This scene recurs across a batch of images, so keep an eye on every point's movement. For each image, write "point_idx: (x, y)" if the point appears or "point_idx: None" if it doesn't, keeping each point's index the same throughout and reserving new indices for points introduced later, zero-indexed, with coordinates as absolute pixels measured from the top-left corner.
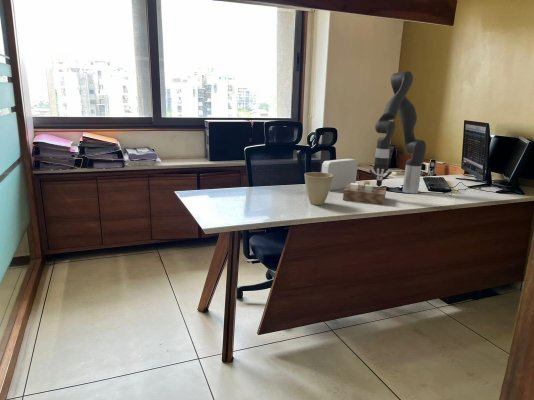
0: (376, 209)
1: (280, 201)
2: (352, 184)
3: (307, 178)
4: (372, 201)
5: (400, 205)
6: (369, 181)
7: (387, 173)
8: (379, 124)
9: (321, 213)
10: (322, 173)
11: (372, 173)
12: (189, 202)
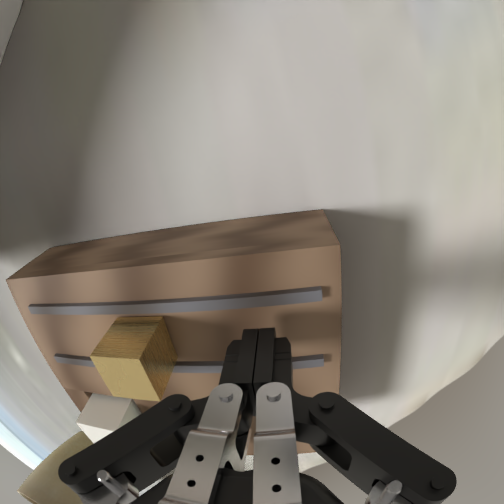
0: (302, 453)
1: (41, 437)
2: None
3: None
4: None
5: (422, 356)
6: (144, 378)
7: (371, 493)
8: None
9: None
10: (36, 499)
11: (143, 478)
12: (6, 448)
